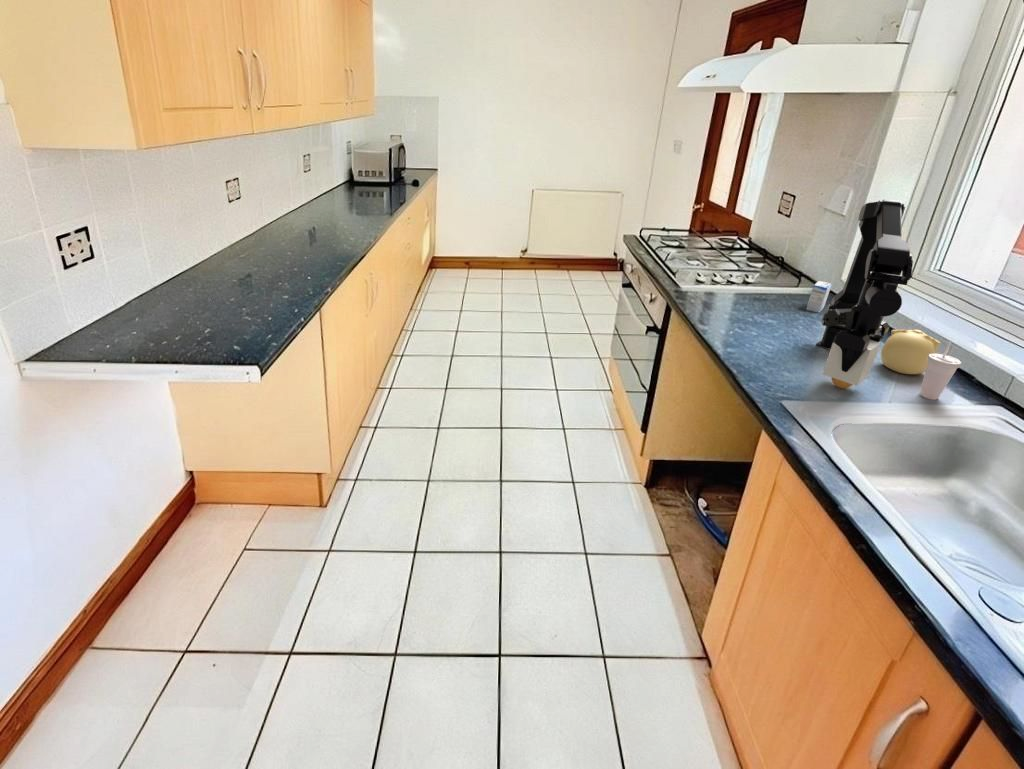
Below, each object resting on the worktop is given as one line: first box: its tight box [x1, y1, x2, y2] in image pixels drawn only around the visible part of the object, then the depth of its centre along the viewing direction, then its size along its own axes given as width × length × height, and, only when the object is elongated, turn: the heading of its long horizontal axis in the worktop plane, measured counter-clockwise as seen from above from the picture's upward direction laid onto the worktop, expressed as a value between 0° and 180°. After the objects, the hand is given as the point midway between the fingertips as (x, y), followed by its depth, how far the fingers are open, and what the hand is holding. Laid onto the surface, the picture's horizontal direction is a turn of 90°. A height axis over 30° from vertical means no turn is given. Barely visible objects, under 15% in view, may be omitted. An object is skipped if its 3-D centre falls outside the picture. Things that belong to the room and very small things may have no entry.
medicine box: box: [806, 280, 832, 313], centre depth 192 cm, size 8×4×9 cm, turn 144°
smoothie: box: [919, 339, 962, 400], centre depth 132 cm, size 6×6×14 cm
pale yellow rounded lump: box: [880, 329, 942, 375], centre depth 147 cm, size 12×12×11 cm
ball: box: [830, 377, 853, 389], centre depth 135 cm, size 5×5×5 cm
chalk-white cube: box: [822, 340, 881, 387], centre depth 133 cm, size 8×8×9 cm
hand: (850, 367), depth 134 cm, fingers closed on chalk-white cube, 8 cm apart
